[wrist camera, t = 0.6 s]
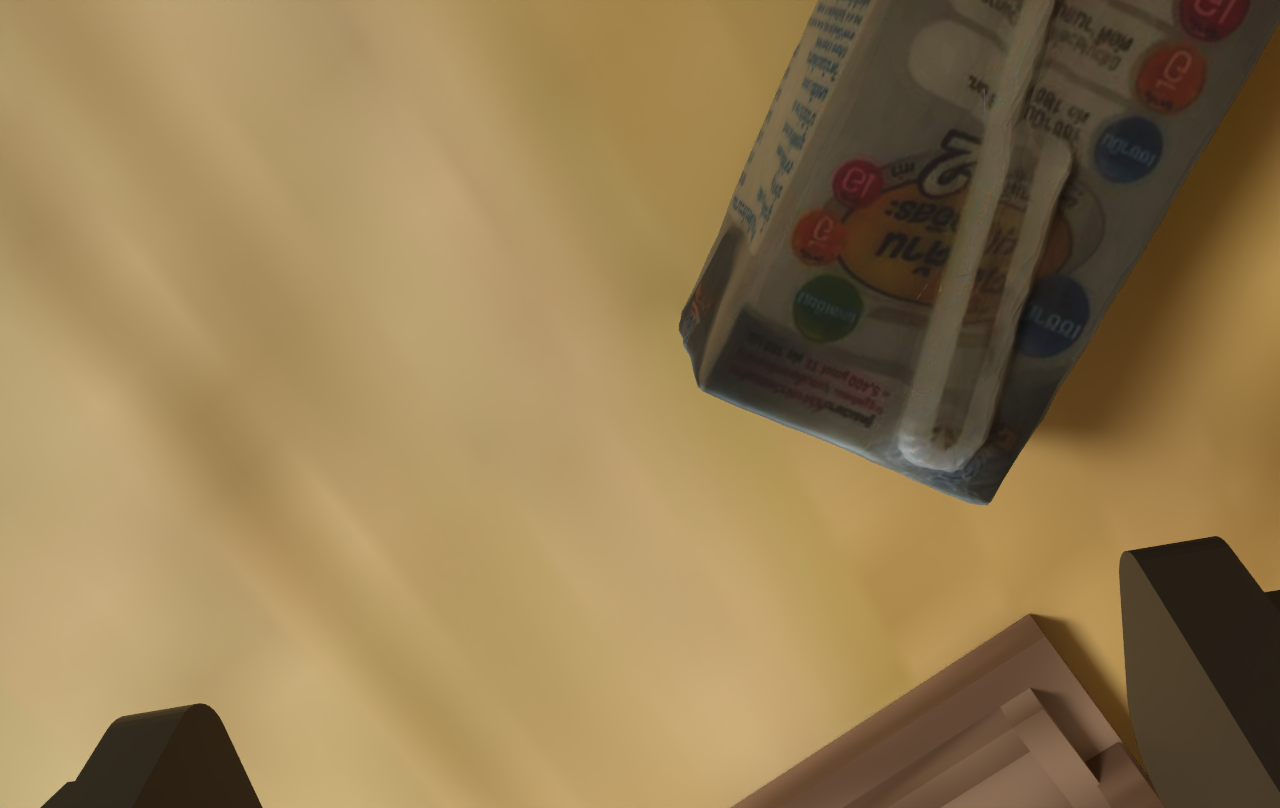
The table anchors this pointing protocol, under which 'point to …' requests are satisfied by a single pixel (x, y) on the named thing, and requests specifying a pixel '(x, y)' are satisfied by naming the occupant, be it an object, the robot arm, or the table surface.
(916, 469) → the beverage carton
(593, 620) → the table surface
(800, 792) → the walnut holder
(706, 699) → the table surface
